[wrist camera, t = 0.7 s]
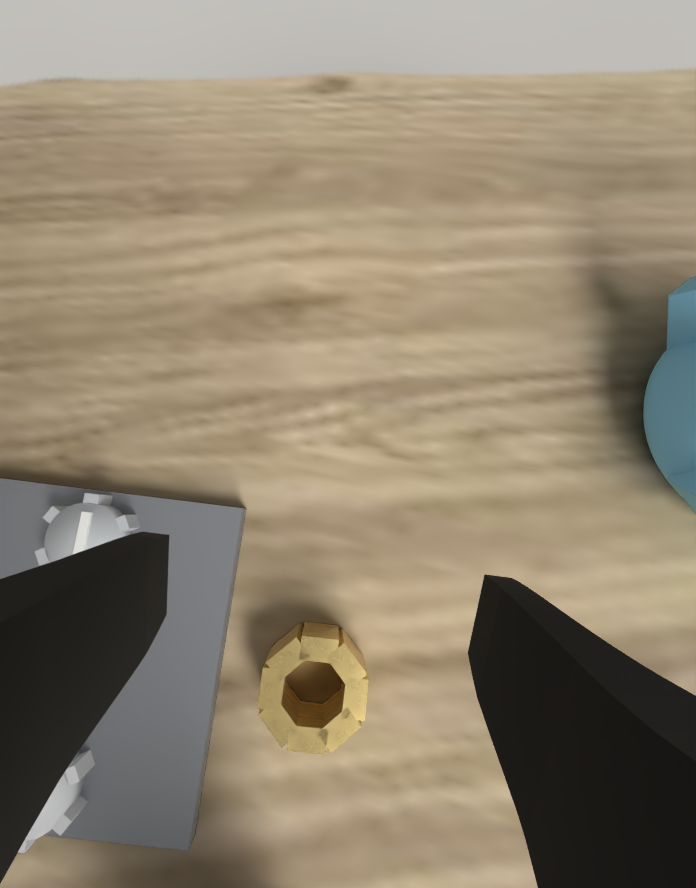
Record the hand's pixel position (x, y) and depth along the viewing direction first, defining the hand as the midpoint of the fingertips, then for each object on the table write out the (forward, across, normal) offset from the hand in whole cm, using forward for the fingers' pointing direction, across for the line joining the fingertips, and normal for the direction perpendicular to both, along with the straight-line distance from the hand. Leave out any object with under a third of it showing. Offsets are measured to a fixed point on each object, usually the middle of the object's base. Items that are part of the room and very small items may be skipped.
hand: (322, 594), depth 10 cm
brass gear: (+13, 0, +14) cm, 19 cm away
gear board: (+13, +14, +13) cm, 23 cm away
